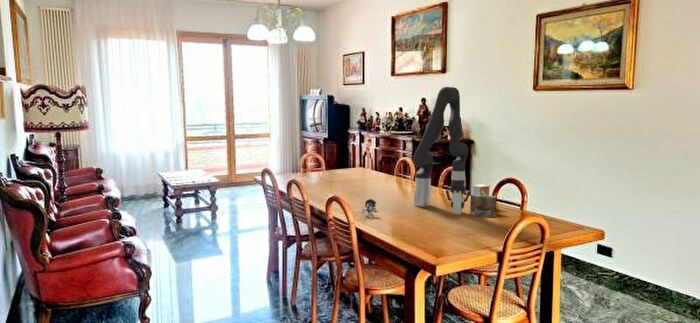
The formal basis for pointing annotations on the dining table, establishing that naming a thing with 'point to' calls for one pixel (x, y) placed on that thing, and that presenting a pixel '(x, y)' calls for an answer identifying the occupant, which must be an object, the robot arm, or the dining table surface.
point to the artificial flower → (369, 208)
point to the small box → (480, 190)
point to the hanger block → (457, 203)
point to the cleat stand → (483, 206)
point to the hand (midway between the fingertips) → (457, 207)
